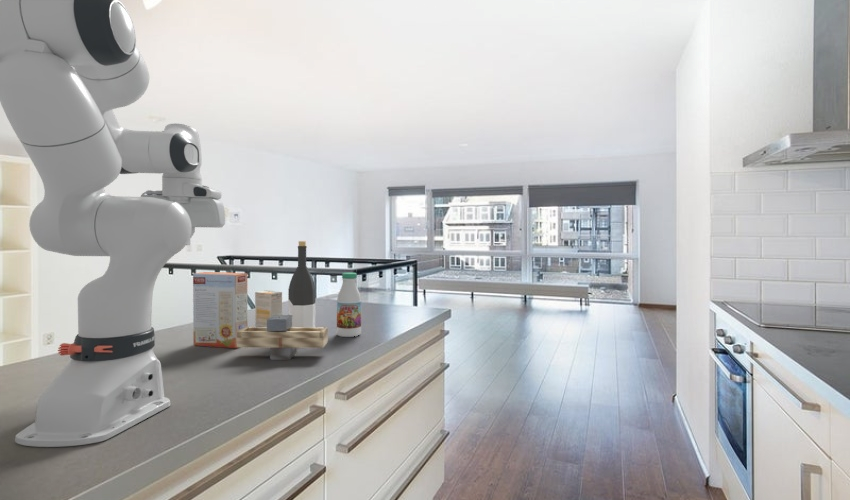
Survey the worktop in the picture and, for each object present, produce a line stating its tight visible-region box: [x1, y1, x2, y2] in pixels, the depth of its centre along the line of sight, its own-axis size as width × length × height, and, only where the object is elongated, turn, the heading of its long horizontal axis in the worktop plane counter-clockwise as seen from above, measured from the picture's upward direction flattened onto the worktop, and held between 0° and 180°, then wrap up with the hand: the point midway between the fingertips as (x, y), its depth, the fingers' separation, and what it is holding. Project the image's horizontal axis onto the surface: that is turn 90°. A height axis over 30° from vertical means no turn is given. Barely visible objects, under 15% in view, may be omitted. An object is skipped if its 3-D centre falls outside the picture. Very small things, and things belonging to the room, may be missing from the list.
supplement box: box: [254, 289, 283, 327], centre depth 144 cm, size 8×5×13 cm, turn 58°
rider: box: [267, 314, 292, 331], centre depth 116 cm, size 5×6×5 cm
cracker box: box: [192, 271, 249, 349], centre depth 126 cm, size 14×6×21 cm, turn 76°
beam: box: [237, 326, 329, 361], centre depth 116 cm, size 22×7×7 cm, turn 92°
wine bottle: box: [287, 240, 316, 327], centre depth 135 cm, size 8×8×30 cm
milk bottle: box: [336, 272, 362, 338], centre depth 140 cm, size 8×8×20 cm
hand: (182, 245), depth 112 cm, fingers closed
